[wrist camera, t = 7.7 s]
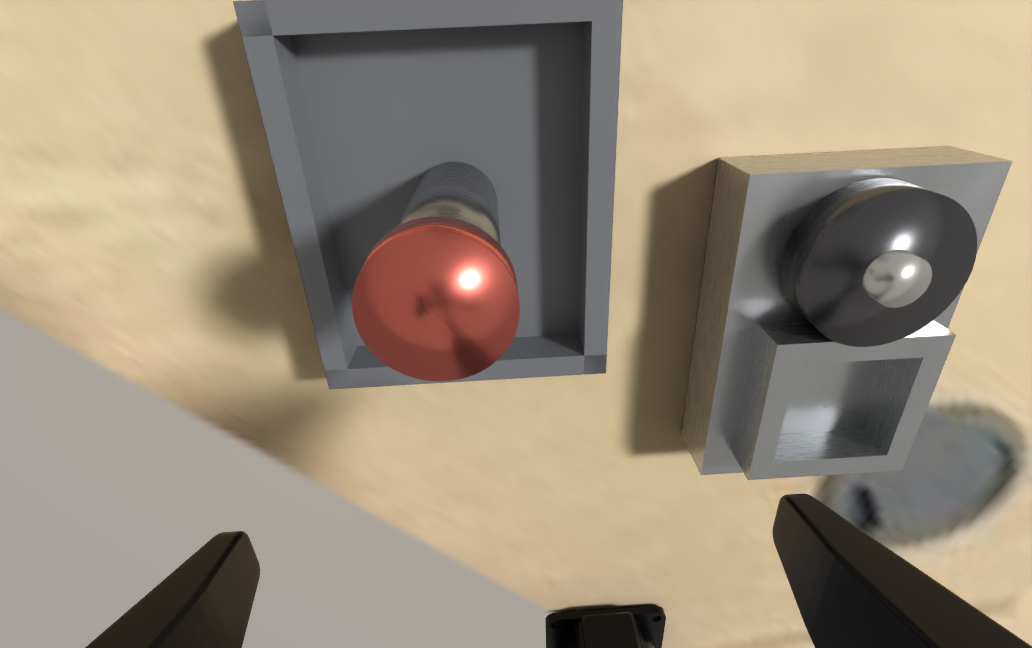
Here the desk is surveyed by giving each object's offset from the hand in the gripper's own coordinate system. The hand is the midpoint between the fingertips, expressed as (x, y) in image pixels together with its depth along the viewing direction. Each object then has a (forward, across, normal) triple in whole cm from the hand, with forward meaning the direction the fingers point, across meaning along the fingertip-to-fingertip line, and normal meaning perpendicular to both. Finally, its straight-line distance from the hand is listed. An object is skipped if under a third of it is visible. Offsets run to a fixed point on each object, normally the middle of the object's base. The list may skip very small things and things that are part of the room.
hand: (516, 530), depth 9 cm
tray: (+12, +2, -3) cm, 12 cm away
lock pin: (+11, +1, -3) cm, 12 cm away
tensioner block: (+12, -12, +2) cm, 17 cm away
